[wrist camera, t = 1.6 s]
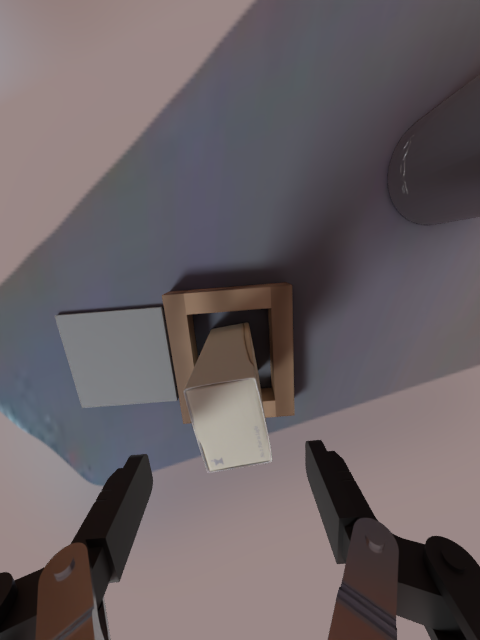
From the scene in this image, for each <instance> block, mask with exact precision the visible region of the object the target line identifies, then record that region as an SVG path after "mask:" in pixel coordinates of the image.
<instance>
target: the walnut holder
mask: <svg viewBox="0 0 480 640" xmlns="http://www.w3.org/2000/svg"><path fill="white" fill-rule="evenodd" d="M162 299H163V305H164V311H165V317H166V323H167V329H168V335H169V341H170V347H171V353H172V359H173V365H174V371H175V377H176V383H177V389H178V394H179V400H180V406H181V412H182V418H183V424H187V423H192V422H191V418H190V414H189V411H188V408H187V404H186V400H185V396H184V389H185V387H186V385H187V382H188V380H189V378H190V376H191V374H192V371H193V369H194V367H195V365H196V362H197V360H198V353H197V345H196V338H195V331H194V323H193V316H192V314H202V313H215V312H227V311H240V310H253V309H266V308H268V319H269V341H270V363H271V385H272V388H261V395H262V402H263V408H264V414H265V418H266V417H279V416H292V415H294V363H293V305H292V285H291V284H289V283H287V282H284V283H271V284H258V285H246V286H233V287H220V288H208V289H195V290H183V291H170V292H168V293H166V294H164V295H162Z"/></svg>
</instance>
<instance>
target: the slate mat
mask: <svg viewBox="0 0 480 640" xmlns="http://www.w3.org/2000/svg"><path fill="white" fill-rule="evenodd" d="M55 319H56V322H57V326H58V329H59V332H60V336H61V339H62V342H63V346H64V349H65V352H66V356H67V359H68V362H69V366H70V369H71V372H72V376H73V379H74V383H75V386H76V389H77V393H78V396H79V399H80V403H81V406H82V408H89V407H102V406H115V405H128V404H141V403H154V402H167V401H177V400H178V396H177V391H176V385H175V379H174V373H173V367H172V361H171V355H170V349H169V343H168V337H167V332H166V326H165V320H164V314H163V308H162V307H151V308H138V309H126V310H113V311H100V312H88V313H75V314H62V315H56V316H55Z"/></svg>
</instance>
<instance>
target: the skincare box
mask: <svg viewBox="0 0 480 640" xmlns="http://www.w3.org/2000/svg"><path fill="white" fill-rule="evenodd" d="M184 396H185V400H186V404H187V408H188V411H189V414H190V418H191V422H192V425H193V429H194V432H195V435H196V438H197V442H198V445H199V448H200V451H201V454H202V457H203V460H204V463H205V466H206V470H207V472H208V473H211V472H216V471H223V470H229V469H235V468H241V467H248V466H253V465H259V464H264V463H270V462H271V461H272V454H271V447H270V441H269V435H268V430H267V425H266V419H265V414H264V408H263V402H262V395H261V388H260V381H259V374H258V369H257V363H256V358H255V352H254V347H253V342H252V337H251V332H250V327H249V323H241V324H235V325H230V326H224V327H219V328H214V329H211V331H210V333H209V335H208V338H207V340H206V342H205V344H204V347H203V349H202V351H201V353H200V356H199V358H198V360H197V362H196V365H195V367H194V369H193V371H192V374H191V376H190V378H189V380H188V382H187V385H186V387H185V389H184Z"/></svg>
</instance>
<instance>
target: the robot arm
mask: <svg viewBox="0 0 480 640" xmlns="http://www.w3.org/2000/svg"><path fill="white" fill-rule="evenodd" d="M388 189H389V194H390V198H391V200H392V202H393V204H394V207H395V208H396V209H397V210H398V212H399V213H400V214H401V215H402V216H404V217H405V218H406V219H408V220H409V221H412V222H414V223H417V224H423V225H432V224H440V223H446V222H452V221H458V220H464V219H470V218H476V217H480V75H478V76H477V77H476V78H474V79H473V80H472V81H470V82H469V83H468V84H466V85H465V86H464V87H462V88H461V89H460V90H458V91H457V92H456V93H454V94H453V95H452V96H450V97H449V98H448V99H446V100H445V101H444V102H442V103H441V104H440V105H438V106H437V107H436V108H434V109H433V110H432V111H431V112H429V113H428V114H427V115H425V116H424V117H423V118H421V119H420V120H419V121H417V122H416V123H415V124H414V125H413V126H412V127H410V128H409V129H408V131H407V132H406V133H405V134H404V136H403V137H402V138H401V139H400V141H399V143H398V145H397V146H396V148H395V150H394V152H393V155H392V158H391V161H390V165H389V170H388ZM305 448H306V473H307V477H308V481H309V483H310V486H311V489H312V492H313V495H314V498H315V501H316V504H317V507H318V510H319V513H320V516H321V519H322V522H323V524H324V527H325V530H326V533H327V536H328V539H329V542H330V545H331V548H332V551H333V554H334V557H335V559H336V563H337V564H344V563H345V564H346V565H345V570H344V575H343V579H342V584H341V587H339V590H338V594H337V598H336V603H335V608H334V613H333V617H332V622H331V627H330V631H329V636H328V640H397V628H396V615H398V616H400V617H403V618H406V619H408V620H411V621H414V622H416V623H419V624H422V625H424V626H425V628H426V630H427V632H428V634H429V636H430V638H431V640H480V566H479V565H478V564H477V562H476V561H475V560H474V559H473V557H472V556H471V555H470V554H469V553H468V552H467V551H466V550H464V549H463V548H462V547H461V546H459V545H458V544H457V543H455V542H453V541H451V540H449V539H447V538H444V537H441V536H432V537H430V538H428V539H427V541H426V544H421V543H417V542H414V541H410V540H406V539H403V538H400V537H398V536H396V535H394V534H392V533H391V532H390V531H389V530H388V529H387V528H386V527H385V526H384V525H383V524H381V523H380V522H379V521H378V520H377V519H376V517H375V516H374V514H373V512H372V510H371V509H370V507H369V505H368V503H367V501H366V500H365V498H364V496H363V494H362V492H361V490H360V489H359V487H358V485H357V483H356V481H354V478H353V476H352V474H351V472H349V469H348V467H347V465H346V463H345V462H344V460H343V459H342V458H341V457H340V456H339V455H338V454H337V453H336V452H335V451H327V450H326V448H325V446H324V444H323V442H322V441H321V440H314V441H306V445H305ZM152 485H153V477H152V472H151V468H150V463H149V459H148V455H147V454H141V455H131V456H130V457H129V458H128V460H127V462H126V464H125V466H124V467H123V468H118V469H117V470H116V471H115V472H114V473H113V474H112V475H111V476H110V477H109V478H108V480H107V482H106V483H105V485H104V487H103V489H102V492H101V493H100V494H99V496H98V497H97V499H96V502H95V503H94V504H93V506H92V508H91V510H90V511H89V513H88V515H87V517H86V518H85V520H84V522H83V524H82V525H81V527H80V529H79V530H78V532H77V534H76V536H75V537H74V539H73V541H72V542H71V544H70V545H68V546H66V547H64V548H63V549H62V550H60V551H59V552H58V553H57V554H55V555H54V556H53V558H52V559H51V560H50V561H49V562H48V563H47V565H46V566H45V567H44V568H42V569H40V570H38V571H36V572H33V573H31V574H29V575H27V576H24V577H22V578H20V579H17V580H15V581H14V579H13V577H12V576H11V574H10V573H7V572H3V573H0V640H111V638H110V632H109V625H108V619H107V612H106V606H105V600H104V594H105V591H106V589H107V586H108V584H109V583H113V582H119V581H120V579H121V576H122V573H123V570H124V567H125V564H126V562H127V559H128V556H129V553H130V550H131V548H132V545H133V542H134V539H135V536H136V533H137V531H138V528H139V525H140V522H141V519H142V517H143V514H144V511H145V508H146V505H147V503H148V500H149V497H150V494H151V491H152Z"/></svg>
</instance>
